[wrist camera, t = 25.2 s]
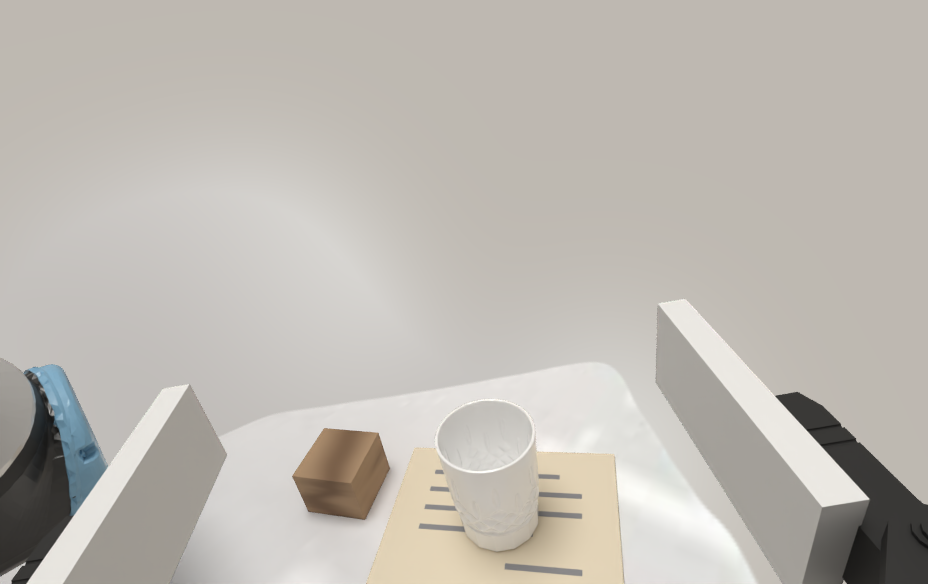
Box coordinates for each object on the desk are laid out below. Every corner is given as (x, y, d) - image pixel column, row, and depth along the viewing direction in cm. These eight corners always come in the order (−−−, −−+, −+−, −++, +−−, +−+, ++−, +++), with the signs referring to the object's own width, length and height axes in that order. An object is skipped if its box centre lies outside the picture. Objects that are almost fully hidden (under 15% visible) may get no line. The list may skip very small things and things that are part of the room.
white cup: (518, 576, 40) (502, 488, 35) (437, 533, 44) (414, 450, 40) (561, 500, 45) (552, 414, 41) (486, 468, 50) (470, 388, 45)
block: (309, 512, 49) (292, 476, 47) (338, 463, 54) (324, 428, 52) (365, 520, 47) (350, 483, 45) (390, 469, 52) (378, 432, 50)
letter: (364, 591, 41) (363, 589, 41) (415, 448, 54) (414, 447, 54) (626, 619, 36) (626, 617, 36) (614, 455, 49) (614, 454, 49)
